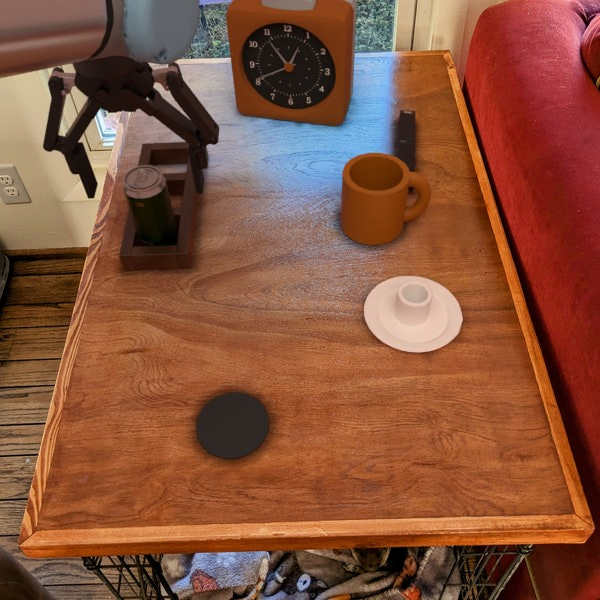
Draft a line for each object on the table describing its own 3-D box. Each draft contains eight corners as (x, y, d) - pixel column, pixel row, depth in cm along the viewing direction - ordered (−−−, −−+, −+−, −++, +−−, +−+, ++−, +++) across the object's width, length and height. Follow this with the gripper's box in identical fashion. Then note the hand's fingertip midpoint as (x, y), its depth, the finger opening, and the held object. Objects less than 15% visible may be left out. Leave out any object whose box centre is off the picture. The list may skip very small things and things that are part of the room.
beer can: (172, 262, 85) (154, 195, 75) (135, 256, 86) (113, 188, 76) (186, 235, 88) (170, 167, 79) (150, 229, 89) (131, 161, 80)
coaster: (217, 473, 66) (217, 471, 65) (184, 416, 70) (183, 414, 70) (282, 435, 68) (282, 433, 68) (246, 382, 73) (246, 380, 72)
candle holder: (480, 330, 76) (488, 308, 73) (398, 371, 73) (402, 349, 70) (423, 267, 83) (428, 244, 80) (345, 301, 80) (346, 278, 76)
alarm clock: (235, 116, 106) (221, -7, 90) (250, 87, 111) (238, -34, 95) (343, 129, 103) (348, 4, 87) (353, 98, 108) (358, -25, 92)
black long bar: (413, 195, 92) (415, 179, 90) (395, 194, 92) (397, 178, 90) (414, 123, 103) (416, 107, 101) (398, 122, 103) (400, 106, 101)
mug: (425, 250, 85) (435, 200, 78) (337, 243, 86) (339, 193, 79) (426, 205, 91) (435, 155, 84) (343, 199, 92) (345, 149, 85)
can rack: (124, 271, 84) (118, 255, 82) (146, 159, 99) (142, 143, 97) (191, 268, 84) (187, 253, 82) (203, 156, 99) (200, 141, 97)
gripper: (226, 3, 65) (246, 165, 81) (-14, 13, 65) (54, 173, 82) (223, 41, 60) (244, 205, 77) (-36, 52, 60) (41, 213, 77)
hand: (146, 189), depth 79 cm, fingers open, 13 cm apart
